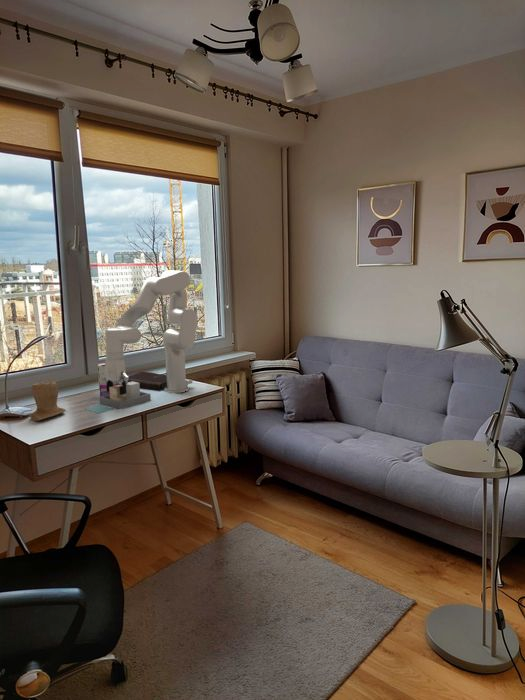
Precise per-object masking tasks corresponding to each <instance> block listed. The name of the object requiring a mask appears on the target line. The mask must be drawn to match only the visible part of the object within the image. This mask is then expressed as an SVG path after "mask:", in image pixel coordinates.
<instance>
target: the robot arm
mask: <svg viewBox="0 0 525 700" xmlns="http://www.w3.org/2000/svg"><path fill="white" fill-rule="evenodd" d="M190 283H191V276H190V275H189V273H187V272H186V271H184V270H165V271H163V272H162V273H161V275H160V276H149V277H148V278H146V279H145V281H144V283H143V285H142V286H141V289H140V291H139V292H138V295H137V297H136V299H135V301H134V302H133V304H132V305H130V307H128V308H127V309H126V311H124V312H123V313H122V315H121V316H120V317H119V319H118V322H117V323H116V325H115V327H111V328H107V329H105V334H104V335H105V336H104V337H105V356H106V357H105V362H104V363H105V372H103V374H104V376H105V377H104V378H105V380H106V385H107V391H110V389H109V387H112V386H113V382H112V381H114V382H119V384H120V395H123V394H126V385H127V383H128V379H129V377H128V376H129V375H127V373H126V364H125V357H124V355H125V353H124V352H125V351H124V344H128V345H130V344H131V345H132V344H137V343H138V342H140V340H141V339H142V333H141V331H140V330H139V328H137V327H134V326H133V325H134V324H135V323H136V322H137V320H139V319H141V318H142V317H145V316H146V315H149V314H150V313H151V312H152V310H153V308H154V306H155V304H156V302H157V300H158V298H159V296H163V297H164V296H168V295H169V304H168V305H169V306H168V315H167V320H168V323H169V324H170V325H172V326H176V327H179V328H176V327H175V328H168V329H167V330H165V331H164V333H163V335H162V342H163V343H162V344H163V348H164V354H165V371H166V372H165V375H166V378H167V387H165V388H164V389H163V391H164V392H165V393H169V394H170V393H172V394H182V392H183V393H185V391H186V392H188V391H189V390H190V387H189V386H188V385H190V384H191V385H192V384H193V382H194V381H193V380H192V379H188V380H187V379H186V354H185V351H186V350H187V351H188V350H190V349H192V347H194V346H193V345H194V344H195V341H196V340H195V339H196V333H197V325H198V316H197V313H196V311H195V310H194V309H192V308H190V307H188V294H187V290H186V289H187V288H188V287H189V285H190ZM184 350H185V351H184ZM121 381H123V383H122V382H121Z"/></svg>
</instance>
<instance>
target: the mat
mask: <svg viewBox="0 0 525 700" xmlns="http://www.w3.org/2000/svg"><path fill="white" fill-rule="evenodd" d="M84 410H86V411H89V412H93V413H95V414H97V415H98V414H102V413H105V412H108V411H112V410H114V408H113V407H110V406H107V405H103V404H98V405H95V406H91V407H88V408H84Z"/></svg>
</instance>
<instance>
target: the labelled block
mask: <svg viewBox="0 0 525 700" xmlns="http://www.w3.org/2000/svg"><path fill="white" fill-rule="evenodd" d="M109 389H110V399H111V400H114V401H118V402H121V401H125V400H126V394H123V395H120V385H116V386H112V387H109Z"/></svg>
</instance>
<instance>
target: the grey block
mask: <svg viewBox="0 0 525 700" xmlns="http://www.w3.org/2000/svg"><path fill="white" fill-rule="evenodd" d="M140 391H141V388H140V386H139V383H137V382H133V381H132V382H128V383H127V385H126V400H128V399H132V398H136V397H139V396H140Z"/></svg>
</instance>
